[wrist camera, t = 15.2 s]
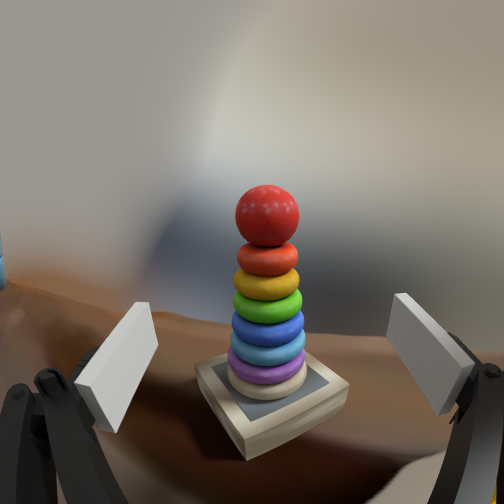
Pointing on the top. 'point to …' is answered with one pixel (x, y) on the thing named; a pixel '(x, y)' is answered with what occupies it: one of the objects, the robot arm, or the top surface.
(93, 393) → the robot arm
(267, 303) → the stacking toy
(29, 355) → the top surface
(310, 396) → the plinth
